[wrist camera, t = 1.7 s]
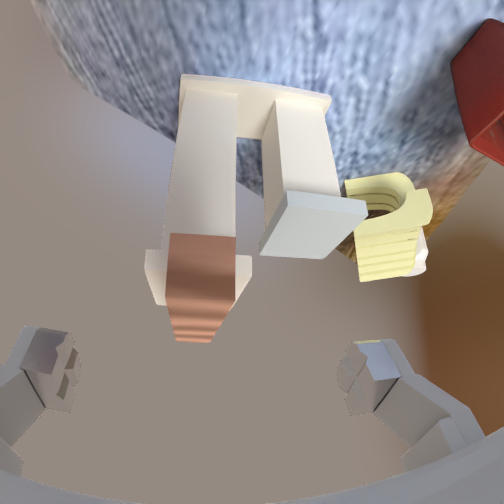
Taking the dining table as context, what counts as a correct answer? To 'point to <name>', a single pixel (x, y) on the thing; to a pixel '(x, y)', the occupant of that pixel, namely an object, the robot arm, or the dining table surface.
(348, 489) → the robot arm
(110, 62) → the dining table surface
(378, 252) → the slatted curved stool
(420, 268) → the jar
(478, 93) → the plant pot
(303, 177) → the stand
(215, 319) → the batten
